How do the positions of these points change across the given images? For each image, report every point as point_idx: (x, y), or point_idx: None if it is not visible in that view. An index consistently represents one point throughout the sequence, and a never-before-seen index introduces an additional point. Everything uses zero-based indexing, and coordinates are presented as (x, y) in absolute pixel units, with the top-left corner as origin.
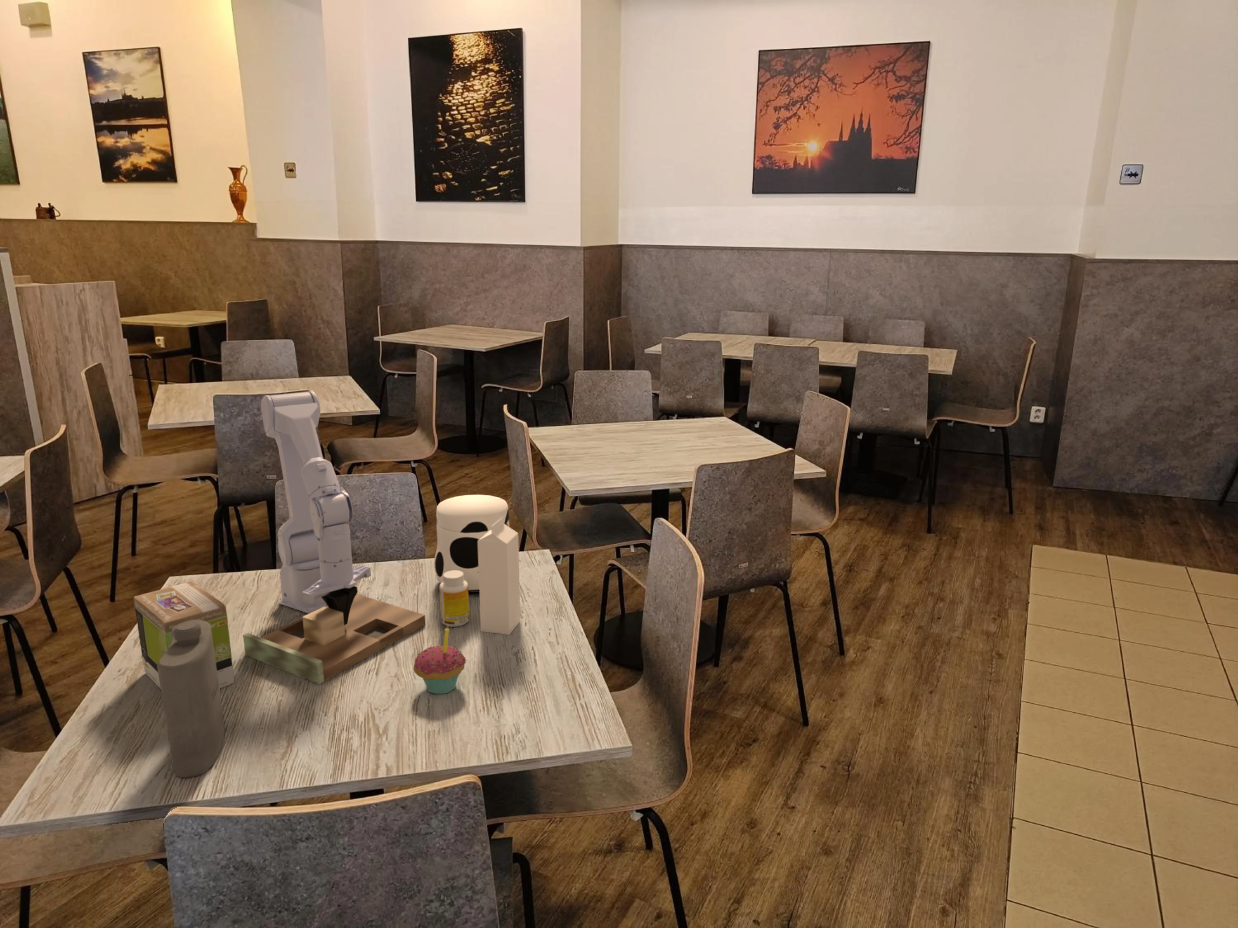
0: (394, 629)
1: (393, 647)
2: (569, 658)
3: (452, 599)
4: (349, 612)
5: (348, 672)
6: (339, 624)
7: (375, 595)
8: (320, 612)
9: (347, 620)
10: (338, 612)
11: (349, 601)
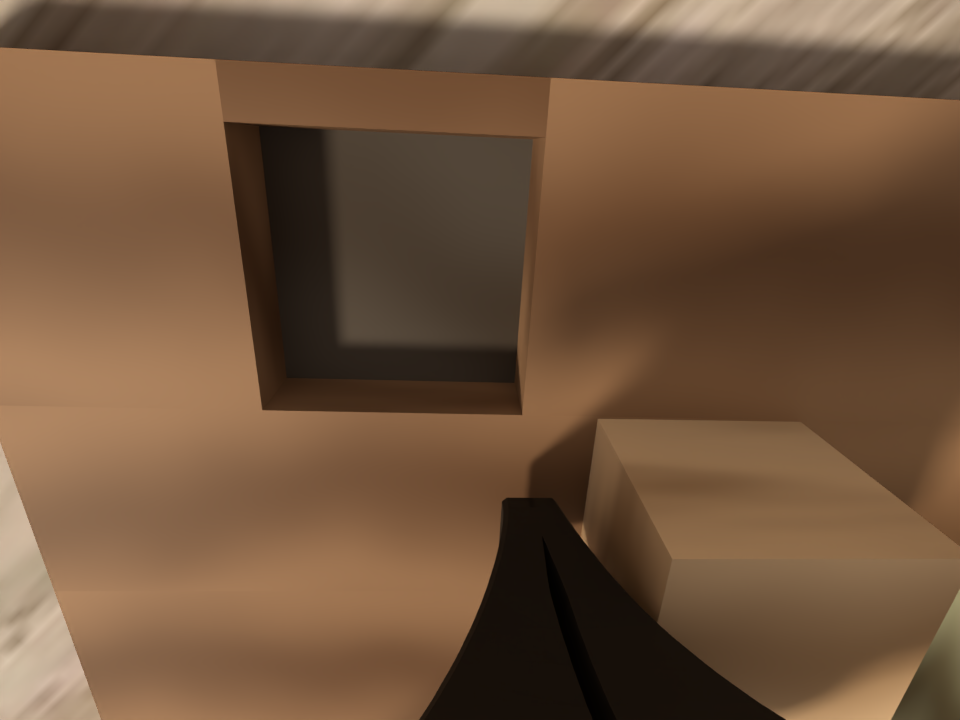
0: (309, 104)
1: (449, 8)
2: None
3: None
4: (502, 554)
5: (930, 49)
6: (683, 483)
7: (7, 671)
8: None
9: (514, 511)
10: (684, 595)
11: (535, 658)
